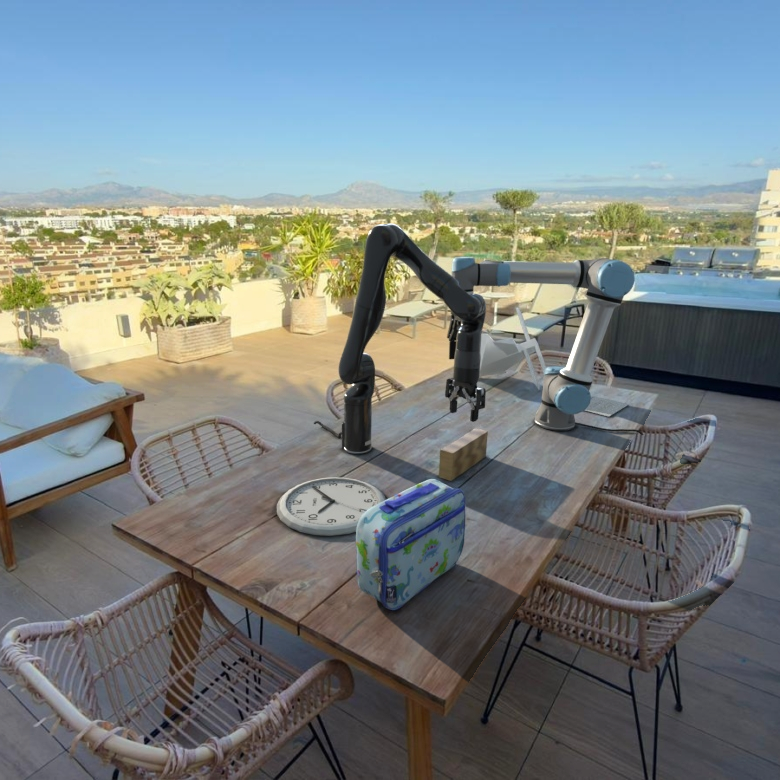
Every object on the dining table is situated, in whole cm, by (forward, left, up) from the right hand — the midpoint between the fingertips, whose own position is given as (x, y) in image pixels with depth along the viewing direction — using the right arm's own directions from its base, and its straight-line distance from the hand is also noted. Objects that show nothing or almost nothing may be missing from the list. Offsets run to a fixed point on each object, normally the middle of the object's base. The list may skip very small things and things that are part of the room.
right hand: (459, 363), depth 186 cm
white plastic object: (-24, -69, -27) cm, 78 cm away
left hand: (-1, +34, -8) cm, 35 cm away
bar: (-2, +28, -27) cm, 39 cm away
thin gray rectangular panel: (-63, -41, -27) cm, 80 cm away
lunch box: (+9, +87, -27) cm, 91 cm away
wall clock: (+33, +58, -27) cm, 72 cm away
